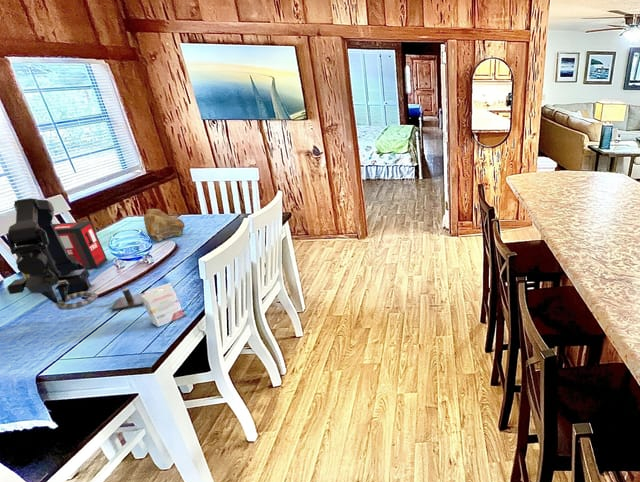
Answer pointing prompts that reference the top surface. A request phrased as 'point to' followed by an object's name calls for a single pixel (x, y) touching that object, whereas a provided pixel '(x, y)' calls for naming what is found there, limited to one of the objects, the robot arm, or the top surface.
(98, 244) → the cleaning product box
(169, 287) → the ink cartridge box
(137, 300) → the tape stand
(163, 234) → the rough brown rock
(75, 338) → the top surface
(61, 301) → the grey-brown segmented ring
